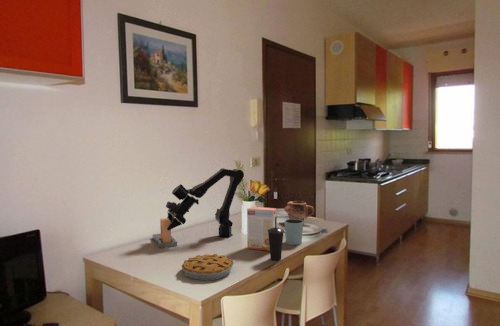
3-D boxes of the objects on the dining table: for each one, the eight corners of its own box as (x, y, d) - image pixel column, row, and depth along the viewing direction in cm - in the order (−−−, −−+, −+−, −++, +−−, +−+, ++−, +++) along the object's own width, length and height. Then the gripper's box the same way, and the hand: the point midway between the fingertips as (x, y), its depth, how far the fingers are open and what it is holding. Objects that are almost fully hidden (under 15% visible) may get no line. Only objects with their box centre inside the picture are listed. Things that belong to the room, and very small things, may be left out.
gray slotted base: (152, 238, 206) (152, 234, 206) (168, 236, 210) (168, 232, 210) (159, 248, 188) (159, 244, 188) (177, 245, 192) (176, 241, 192)
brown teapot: (315, 221, 242) (315, 201, 241) (313, 226, 231) (313, 204, 230) (286, 219, 248) (286, 199, 247) (282, 224, 237) (282, 202, 236)
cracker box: (277, 248, 187) (277, 207, 185) (273, 251, 181) (273, 210, 179) (251, 245, 192) (251, 206, 190) (247, 248, 186) (246, 208, 185)
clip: (160, 242, 198) (160, 218, 197) (168, 241, 200) (167, 218, 199) (163, 246, 192) (162, 221, 191) (171, 245, 193) (170, 220, 192)
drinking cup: (266, 256, 174) (266, 215, 172) (282, 256, 175) (282, 214, 173) (268, 262, 166) (268, 218, 165) (285, 261, 167) (285, 218, 165)
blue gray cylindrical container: (292, 239, 203) (292, 217, 202) (307, 242, 196) (307, 220, 195) (280, 242, 196) (280, 220, 195) (295, 246, 189) (295, 224, 188)
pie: (240, 265, 163) (240, 254, 163) (222, 284, 142) (222, 272, 142) (196, 260, 170) (195, 250, 169) (172, 278, 149) (171, 266, 148)
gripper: (170, 193, 204) (151, 215, 200) (179, 198, 187) (158, 222, 184) (185, 206, 208) (166, 227, 204) (194, 212, 191) (174, 235, 188)
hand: (165, 227), depth 195 cm, fingers open, 9 cm apart
